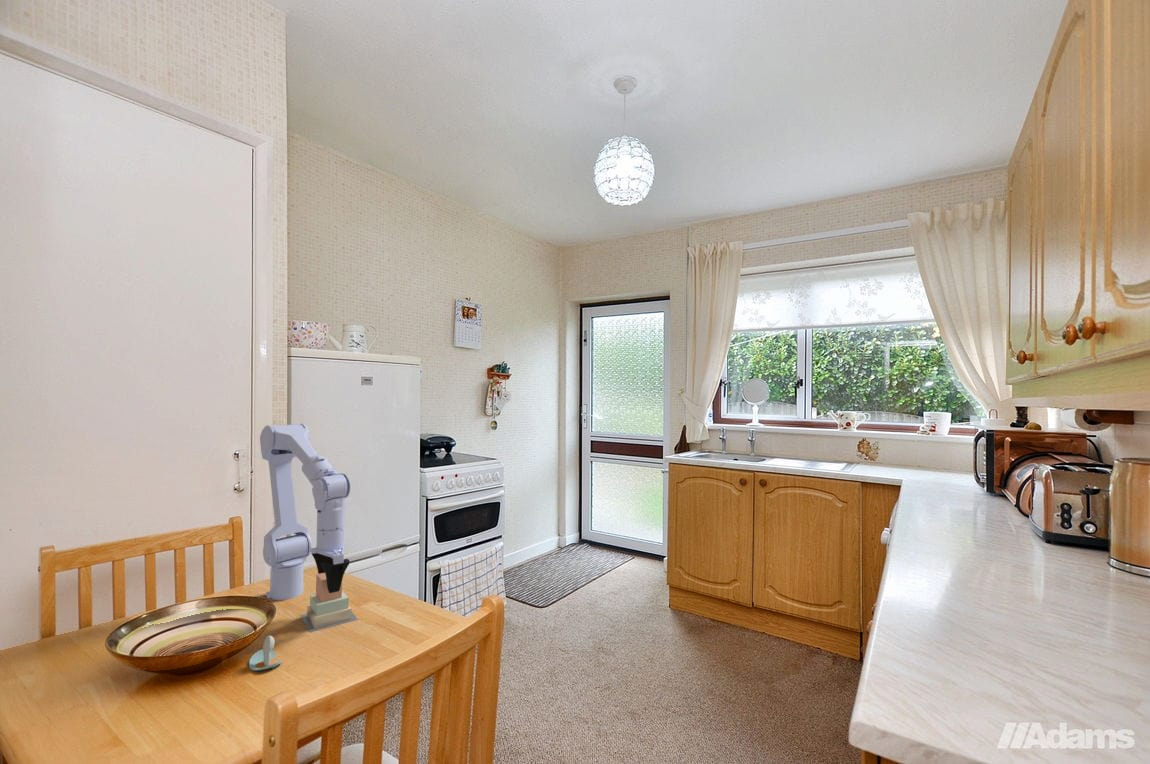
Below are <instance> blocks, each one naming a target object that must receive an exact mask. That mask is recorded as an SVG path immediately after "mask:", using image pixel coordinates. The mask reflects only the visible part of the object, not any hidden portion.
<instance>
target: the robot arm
mask: <svg viewBox="0 0 1150 764" xmlns="http://www.w3.org/2000/svg"><path fill="white" fill-rule="evenodd" d="M259 443H260V444H259V445H260V453H261V458H262V460H265V461H267V462H268V469H269V478H270V479H269V480H270V487H271V490H270V491H271V497H272V498H271V499H272V507H273V509H272V510H273V517H274V526H273V527H272V528H271V529H270V530H269V531H268V532H267V533H266V534H265V535H264V537H263V548H262V555H263V560H264V562H265V564H266V565H268V566H269V567H270V570H269V571H270V572H269V573H270V574H269V575H270V576H269V578H270V579H269V591H266V592H265V596H266V597H267V599H271V600H274V601H287V600H291V599H295V598H298V597H299V596H301V595H302V594H303V593H304V564H305V562H306V561H307V557H309V556H310V554H311V555H312V557H313V559H314V562H315V565H316V569H317V574H321V573H325V575H326V580H327V587H328V591H329V593H333V592H337V591H339V590H340V586H341V583H342V584H343V578H344V574H345V572H346V570H347V568H348V567H349V565H350V560H349V559H348V558H346V559H344V557H345V556H344V555H345V554H344V553H345V546H346V545H345V509H346V508H345V501H346V500H345V499H346V498H348V497H349V495H350V492H351V482H350V478H349V477H348V476H347V474H346V473H344V472H340V471H336V470H335V468H334V467H333V466H332V464H331V463H330V462H329V460H328V459H327V458H326V457H325V456H323V455H322V454H317V453H316V451H315V449H314V447H313V446H312V444H311V442H310V430H309V428H308V426H307V425H306V424H305V423H298V424H297V423H296V424H283V425H281V424H280V425H265V426H264V427H263V429H262V430H261V433H260V435H259ZM294 458H297V459H298V460H299V461H300V463H301V465H302V466H301V472H302V473H303V475H304V476H305V477H306V478H307V480H308V482H309V483H310V484H311V486H312V489H311V490H312V497H313V499H314V508H315V509H316V546H315V547H313V542H312V538H311V536H310V532H309V527H307V526H306V525H303V523H300V522H298V517H297V507H296V506H297V505H296V498H295V490H294V481H293V472H292V464H291V463H292V460H293V459H294ZM291 534H292V535H291ZM293 534H294V535H293ZM288 535H290V536H288ZM283 536H285V537H283Z"/></svg>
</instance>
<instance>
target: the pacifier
mask: <svg viewBox="0 0 1150 764" xmlns="http://www.w3.org/2000/svg"><path fill="white" fill-rule="evenodd" d="M274 647H275V638H274V636H272V635H267V636H266V638H265V639H264V642H263V646H262V649H260V650H258V651H256V652H255V653H254V654H253V655H252V656H251V658H250V659H249V661H248V666H249V669H250V670H251V671H263V670H269V669H271V668H274V667H277V666H278V665H280V664H282V661H281V660H277V661H276V662H275V663H273V664H271V659H277V654H276V652H275V651H274V650H273V649H274ZM262 661H263V665H264V666H263V667H256V666H257V664H258V663H261V662H262Z"/></svg>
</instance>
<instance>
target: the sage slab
mask: <svg viewBox="0 0 1150 764" xmlns="http://www.w3.org/2000/svg"><path fill="white" fill-rule="evenodd" d="M309 605H310V606H311V608H312V609H313V611H314V612H315V614H316V615H317V616H320V615H324V614H328V613H332V612H336V611H340V610H344V609H348V605H349V596H348V595H346V593H345V592H344V591H343V590H342V598H338V599H334V600H330V601H325V602H320V601H319V599H318V598H317V597H316V593H315V594H311V595H309Z"/></svg>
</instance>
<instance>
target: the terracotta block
mask: <svg viewBox="0 0 1150 764" xmlns="http://www.w3.org/2000/svg"><path fill="white" fill-rule="evenodd" d="M315 578H316V579H315V581H316V582H315V594H316V597H317V598H318V599H319V601H320V602H325V601H330V600H334V599H338V598H342V591H343V582H342V583H341V586H340V590H339V591H337V592H333V593H329V591H328V587H327V580H326V575H325V573H321V574H318V573H316V577H315Z"/></svg>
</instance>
